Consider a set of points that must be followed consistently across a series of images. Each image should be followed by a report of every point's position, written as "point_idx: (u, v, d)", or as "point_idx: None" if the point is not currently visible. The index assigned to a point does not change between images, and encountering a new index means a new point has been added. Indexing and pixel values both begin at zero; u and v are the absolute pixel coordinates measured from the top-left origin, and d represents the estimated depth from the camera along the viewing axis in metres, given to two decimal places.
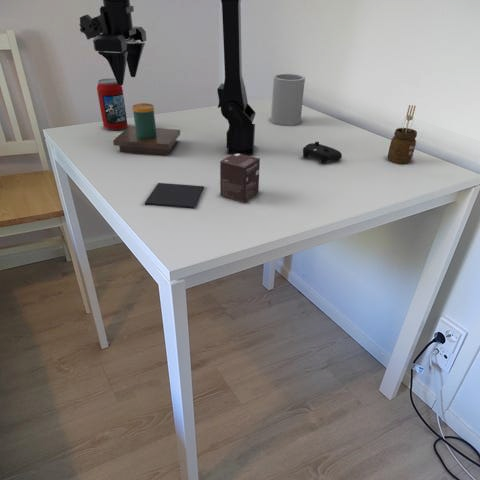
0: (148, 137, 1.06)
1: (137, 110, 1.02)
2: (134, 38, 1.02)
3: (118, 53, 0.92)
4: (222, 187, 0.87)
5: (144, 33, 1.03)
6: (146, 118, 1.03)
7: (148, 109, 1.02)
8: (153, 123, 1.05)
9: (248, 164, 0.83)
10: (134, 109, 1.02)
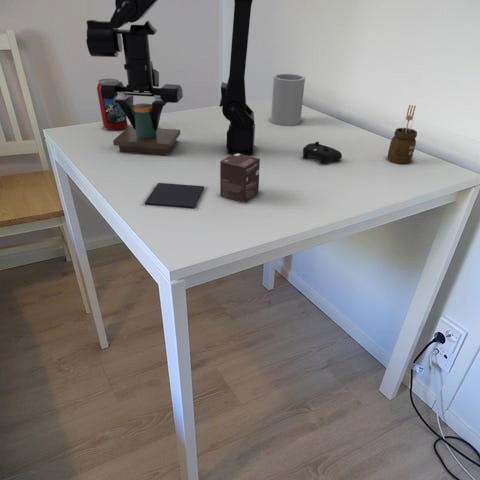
0: (148, 137, 1.06)
1: (137, 110, 1.02)
2: None
3: (115, 100, 1.01)
4: (222, 187, 0.87)
5: (169, 95, 0.98)
6: (146, 118, 1.03)
7: (148, 109, 1.02)
8: None
9: (248, 164, 0.83)
10: (134, 109, 1.02)
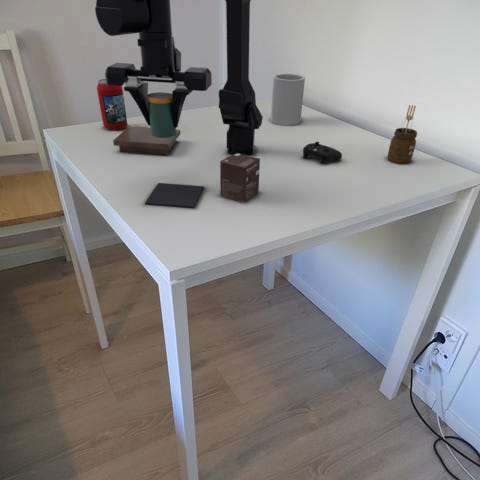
0: (165, 135, 0.83)
1: (153, 100, 0.79)
2: None
3: (125, 87, 0.79)
4: (222, 187, 0.87)
5: (196, 80, 0.75)
6: (164, 110, 0.80)
7: (167, 99, 0.79)
8: None
9: (248, 164, 0.83)
10: (149, 99, 0.79)
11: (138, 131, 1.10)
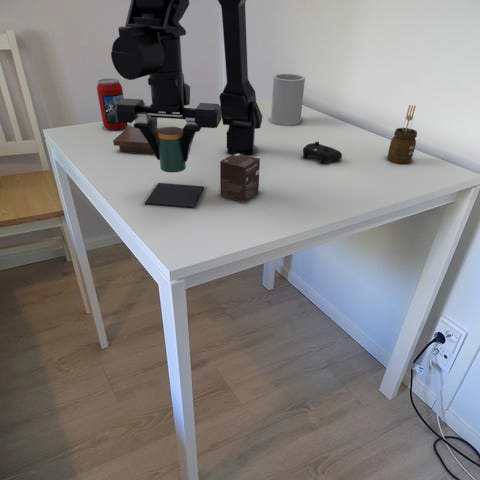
0: (175, 170, 0.82)
1: (163, 137, 0.78)
2: None
3: None
4: (222, 187, 0.87)
5: (207, 118, 0.75)
6: (174, 146, 0.79)
7: (177, 135, 0.78)
8: None
9: (248, 164, 0.83)
10: (159, 135, 0.78)
11: (138, 131, 1.10)
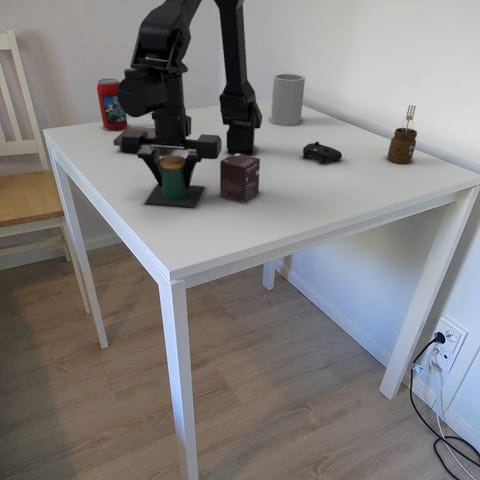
0: (177, 196, 0.86)
1: (166, 166, 0.82)
2: None
3: (138, 154, 0.81)
4: (222, 187, 0.87)
5: (208, 150, 0.78)
6: (176, 175, 0.83)
7: (179, 165, 0.82)
8: (184, 180, 0.85)
9: (248, 164, 0.83)
10: (162, 165, 0.82)
11: None
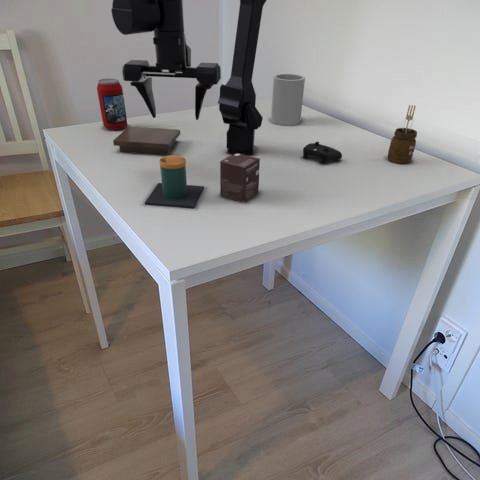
0: (177, 196, 0.86)
1: (166, 166, 0.82)
2: None
3: (131, 82, 0.84)
4: (222, 187, 0.87)
5: (208, 75, 0.81)
6: (176, 175, 0.83)
7: (179, 165, 0.82)
8: (184, 180, 0.85)
9: (248, 164, 0.83)
10: (162, 165, 0.82)
11: (138, 131, 1.10)
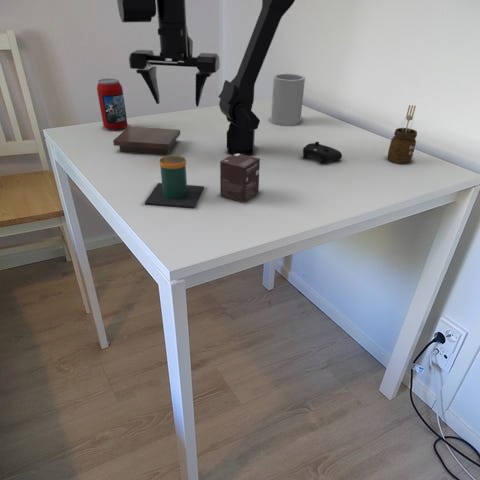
0: (177, 196, 0.86)
1: (166, 166, 0.82)
2: None
3: (137, 70, 0.92)
4: (222, 187, 0.87)
5: (207, 64, 0.88)
6: (176, 175, 0.83)
7: (179, 165, 0.82)
8: (184, 180, 0.85)
9: (248, 164, 0.83)
10: (162, 165, 0.82)
11: (138, 131, 1.10)
